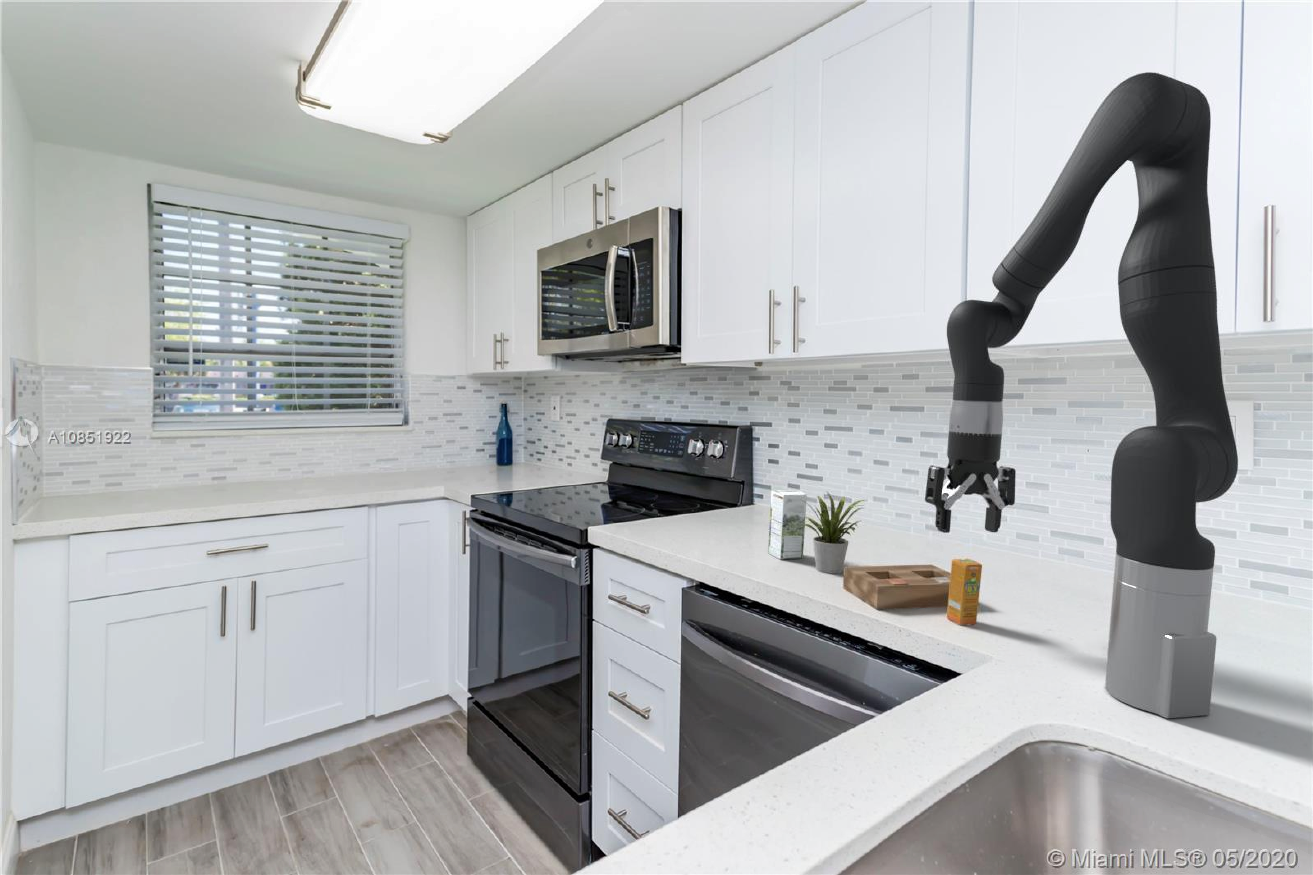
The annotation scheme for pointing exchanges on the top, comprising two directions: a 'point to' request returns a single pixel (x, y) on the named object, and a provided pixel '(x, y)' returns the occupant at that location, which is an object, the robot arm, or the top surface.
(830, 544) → the house plant
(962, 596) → the supplement box
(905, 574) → the socket board
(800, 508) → the syrup box
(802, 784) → the top surface
